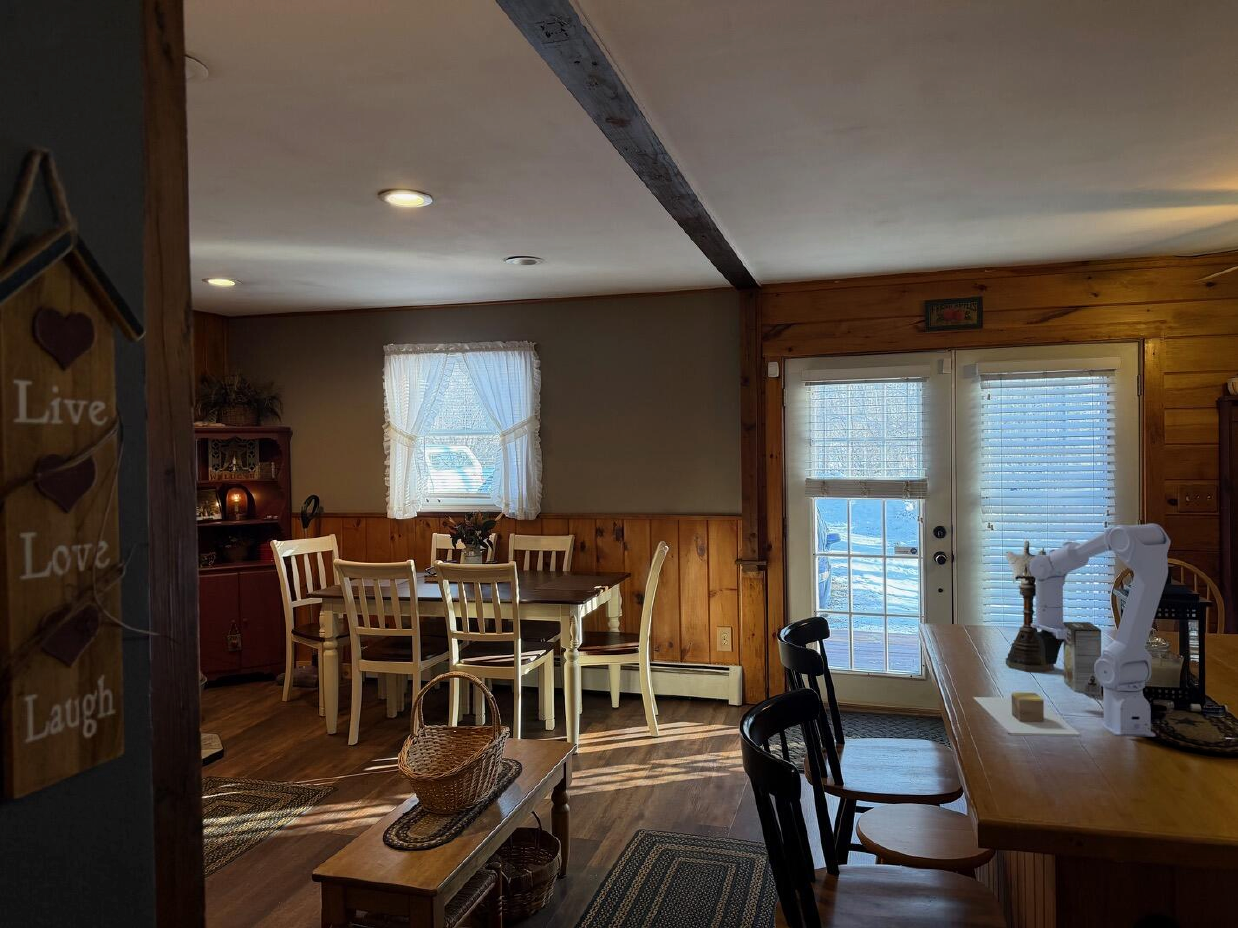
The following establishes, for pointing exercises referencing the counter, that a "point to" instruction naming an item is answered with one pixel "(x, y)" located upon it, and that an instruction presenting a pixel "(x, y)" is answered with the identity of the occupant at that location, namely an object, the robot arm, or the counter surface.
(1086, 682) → the coffee box
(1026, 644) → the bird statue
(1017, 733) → the mat
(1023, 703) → the flip block
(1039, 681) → the counter surface
